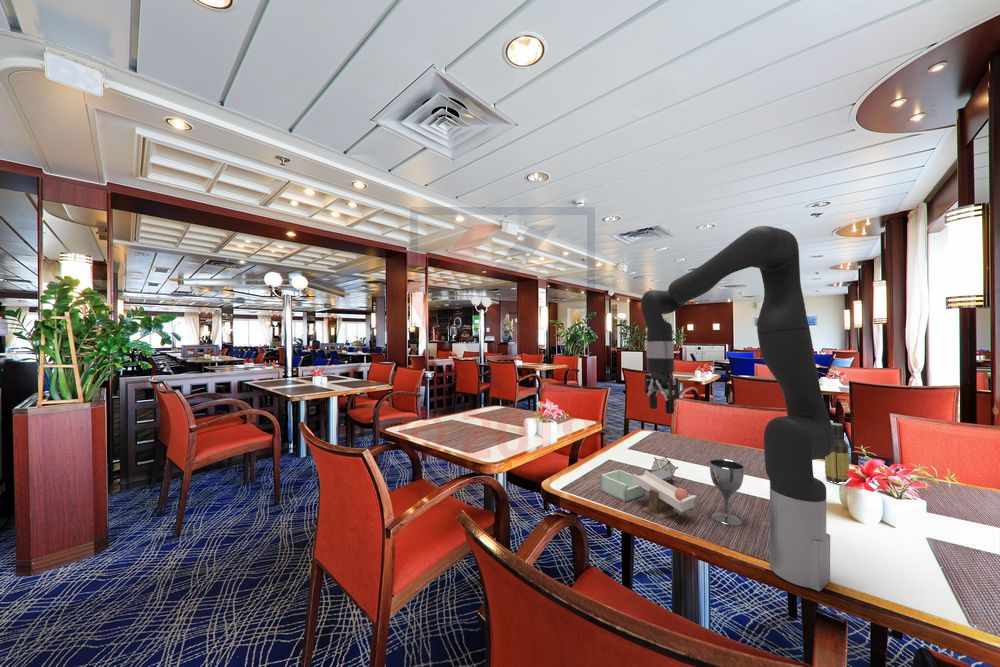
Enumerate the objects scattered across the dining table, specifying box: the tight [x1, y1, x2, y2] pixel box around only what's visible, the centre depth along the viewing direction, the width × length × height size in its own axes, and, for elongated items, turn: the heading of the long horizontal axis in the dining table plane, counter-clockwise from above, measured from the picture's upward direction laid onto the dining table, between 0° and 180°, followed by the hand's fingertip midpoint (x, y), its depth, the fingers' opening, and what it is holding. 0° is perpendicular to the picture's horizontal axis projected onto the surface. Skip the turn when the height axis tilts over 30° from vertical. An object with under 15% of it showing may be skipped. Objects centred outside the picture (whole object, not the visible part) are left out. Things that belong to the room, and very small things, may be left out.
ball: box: [675, 487, 689, 501], centre depth 100 cm, size 3×3×3 cm
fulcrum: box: [641, 485, 678, 521], centre depth 105 cm, size 6×10×6 cm, turn 122°
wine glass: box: [709, 458, 745, 526], centre depth 100 cm, size 8×8×15 cm
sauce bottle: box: [824, 422, 850, 483], centre depth 126 cm, size 6×6×20 cm
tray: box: [599, 469, 646, 503], centre depth 117 cm, size 10×9×5 cm
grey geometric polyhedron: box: [648, 455, 679, 482], centre depth 126 cm, size 9×8×10 cm
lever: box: [632, 469, 698, 515], centre depth 107 cm, size 16×14×4 cm
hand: (661, 410), depth 110 cm, fingers open, 8 cm apart
